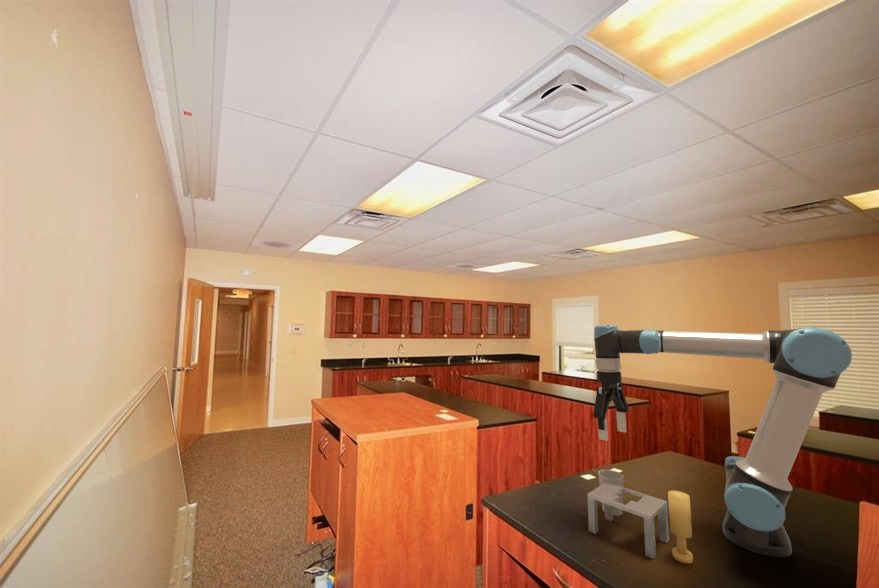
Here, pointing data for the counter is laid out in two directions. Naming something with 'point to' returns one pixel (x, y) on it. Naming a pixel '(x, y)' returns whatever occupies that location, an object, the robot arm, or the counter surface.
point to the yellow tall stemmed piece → (680, 524)
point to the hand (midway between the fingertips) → (613, 435)
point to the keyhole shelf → (644, 508)
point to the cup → (614, 479)
